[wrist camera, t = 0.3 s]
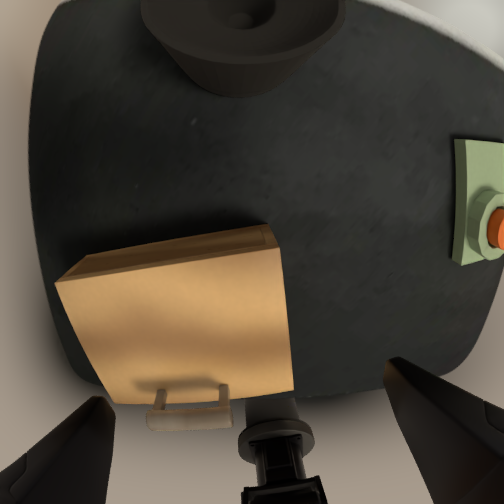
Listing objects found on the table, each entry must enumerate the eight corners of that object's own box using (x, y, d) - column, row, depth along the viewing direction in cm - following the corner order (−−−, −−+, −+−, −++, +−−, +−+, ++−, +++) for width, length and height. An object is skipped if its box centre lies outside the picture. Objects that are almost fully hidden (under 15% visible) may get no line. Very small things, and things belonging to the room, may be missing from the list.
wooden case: (282, 344, 26) (291, 378, 21) (127, 360, 26) (114, 393, 21) (268, 223, 22) (277, 242, 17) (86, 255, 22) (59, 277, 17)
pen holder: (326, 47, 17) (386, -9, 8) (246, 129, 19) (258, 110, 10) (232, -18, 15) (235, -96, 5) (150, 59, 17) (95, 5, 8)
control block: (499, 246, 24) (519, 257, 21) (451, 259, 24) (472, 273, 21) (504, 143, 20) (526, 146, 17) (453, 138, 20) (478, 140, 17)
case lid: (292, 383, 21) (302, 426, 17) (116, 397, 21) (103, 435, 17) (277, 243, 17) (292, 274, 13) (59, 278, 17) (25, 309, 13)
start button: (503, 241, 21) (515, 247, 19) (484, 246, 20) (495, 253, 19) (507, 206, 19) (519, 211, 18) (487, 209, 19) (500, 214, 18)
